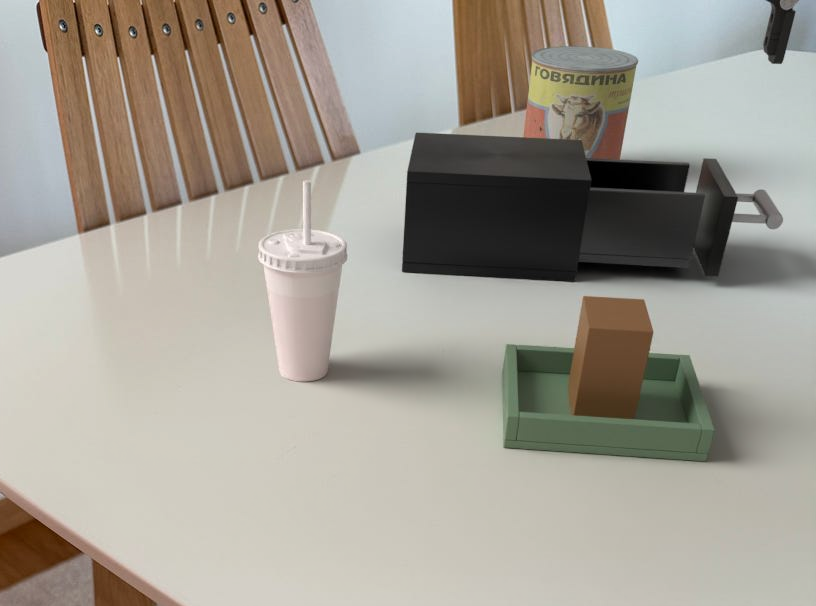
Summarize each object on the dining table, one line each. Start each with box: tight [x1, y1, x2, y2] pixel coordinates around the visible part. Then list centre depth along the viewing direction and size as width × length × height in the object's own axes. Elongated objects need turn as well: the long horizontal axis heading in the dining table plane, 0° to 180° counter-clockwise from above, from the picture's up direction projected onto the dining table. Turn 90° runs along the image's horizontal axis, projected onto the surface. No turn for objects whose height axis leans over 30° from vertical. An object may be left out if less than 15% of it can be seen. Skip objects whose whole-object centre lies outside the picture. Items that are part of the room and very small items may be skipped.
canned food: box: [522, 45, 639, 160], centre depth 116 cm, size 11×11×12 cm
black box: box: [401, 132, 591, 282], centre depth 97 cm, size 16×13×9 cm
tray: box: [502, 343, 715, 462], centre depth 74 cm, size 14×12×2 cm
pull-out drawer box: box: [578, 157, 784, 278], centre depth 96 cm, size 20×12×7 cm, turn 83°
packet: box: [568, 295, 654, 419], centre depth 73 cm, size 4×6×7 cm
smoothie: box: [257, 179, 348, 382], centre depth 76 cm, size 6×6×14 cm
